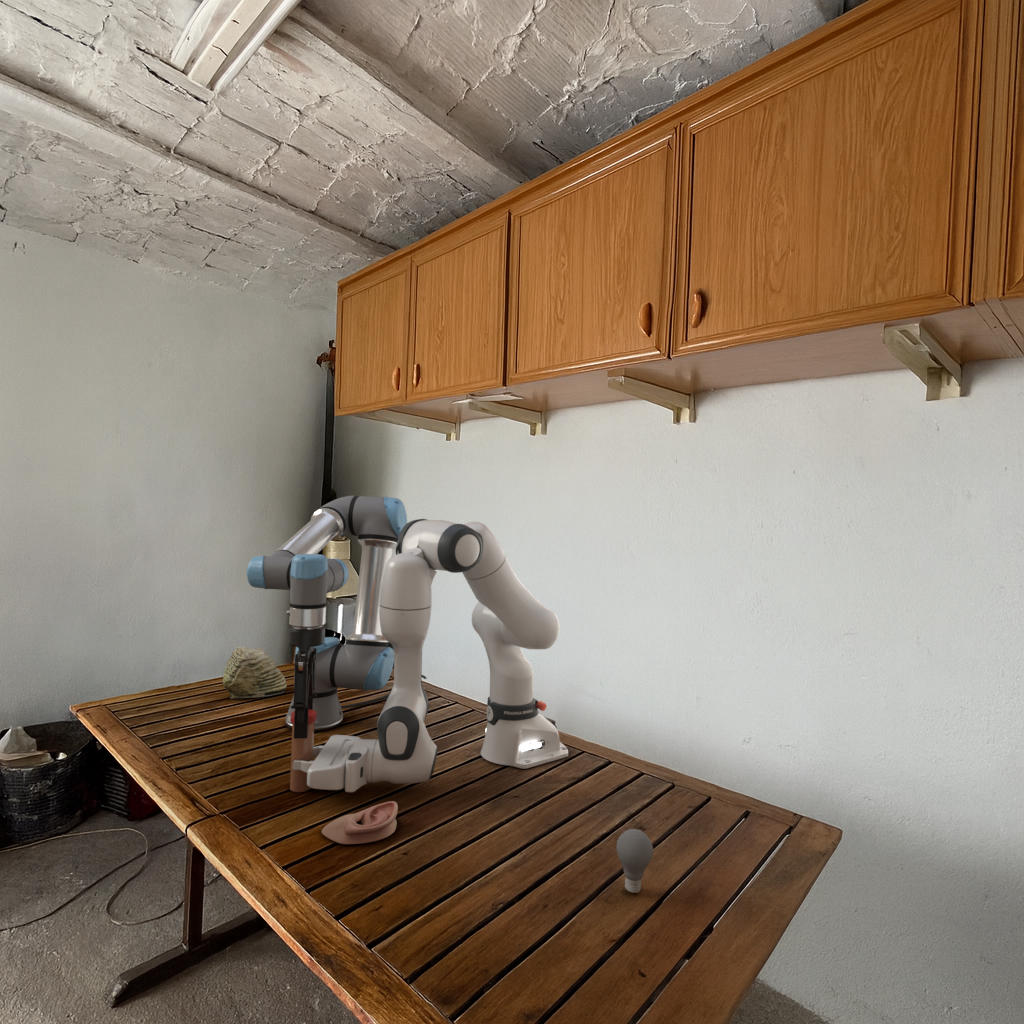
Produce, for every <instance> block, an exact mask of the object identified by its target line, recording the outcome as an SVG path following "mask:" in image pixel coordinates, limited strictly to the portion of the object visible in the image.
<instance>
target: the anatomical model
mask: <svg viewBox="0 0 1024 1024" xmlns="http://www.w3.org/2000/svg"><path fill="white" fill-rule="evenodd" d="M398 809H399V806H398V803H397V802H396V801H393V800H392V801H391V800H390V801H385V802H381V803H378V804H376V805H372V806H370V807H368V808H365V809H363V810H360V811H358V812H355V813H350V814H344V815H342V816H340V817H338V818H336V819H334V820H332V821H331V822H329V823H327V824H326V825H325V826H323V828H322V829H321V834H322V835H323V836H324V837H325V838H327V839H328V840H331V841H333V842H335V843H337V844H341V845H357V844H358V845H359V844H367V843H372V842H377V841H380V840H384V839H385V838H388V837H389V836H391V835H392V834H393V833H395V831H396V829H397V826H398V823H397V820H396V819H397V815H398V812H399V811H398Z"/></svg>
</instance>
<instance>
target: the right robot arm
mask: <svg viewBox="0 0 1024 1024" xmlns="http://www.w3.org/2000/svg"><path fill="white" fill-rule="evenodd" d="M394 551H395V555H392V557H391V558H390V559H389V560H388V561H387V563H386V566H385V570H384V574H383V579H382V585H381V592H380V605H379V618H380V626H381V632H382V635H383V637H384V638H385V639H386V640H387V641H388V642H389V643H390V644H391V646H392V649H393V651H394V663H393V684H392V687H391V689H390V690H389V693H388V694H389V695H388V694H387V695H388V697H387V698H386V700H385V703H384V706H383V707H382V710H381V712H380V714H379V715H378V718H377V723H376V728H377V729H376V730H377V731H376V732H377V739H373V738H361V737H360V736H355V735H348V734H347V735H345V734H334V735H331V736H330V737H329V739H328V740H327V741H326V743H325V744H324V745H317V746H314V749H313V758H314V759H313V761H309V762H307V761H303V759H296V760H295V761H294V762H293V769H294V770H301V771H304V772H306V773H307V786H309V787H311V789H315V790H326V791H339V790H343V789H344V792H345V793H354V792H356V791H357V790H358V789H360V788H361V787H363V786H365V785H367V784H376V783H381V782H387V783H390V784H394V785H396V784H397V785H398V784H399V785H405V784H406V785H407V784H410V785H411V784H420V783H424V782H427V781H429V779H431V778H432V776H433V774H434V770H435V767H436V761H437V757H438V752H439V751H438V746H437V744H435V743H434V741H433V739H432V737H431V736H430V735H429V732H428V730H427V727H426V724H425V720H426V717H427V716H428V713H429V709H430V705H429V704H430V702H429V698H428V694H427V693H426V691H425V688H424V685H423V681H422V680H423V679H422V675H423V674H422V672H423V670H422V669H423V667H422V666H423V647H424V644H425V641H426V639H427V637H428V632H429V627H430V623H431V616H432V604H433V603H432V602H433V601H432V599H433V598H432V597H433V596H432V595H433V593H432V590H433V589H432V584H433V581H434V579H435V576H436V575H437V572H438V571H443V572H444V571H445V572H449V573H452V574H453V573H454V574H457V573H462V574H463V576H464V578H465V581H466V582H467V584H468V587H470V590H471V592H472V593H473V595H474V597H475V599H476V600H477V601H478V602H477V603H476V604H475V606H474V607H473V610H472V612H471V624H472V628H473V630H474V631H475V632H476V633H477V635H478V636H479V637H480V639H481V641H482V644H483V646H484V649H485V652H486V656H487V660H488V665H489V696H488V697H487V704H486V721H487V723H486V728H485V735H484V740H483V742H482V746H481V749H480V751H479V752H480V756H481V757H482V758H483V759H484V760H486V761H488V762H490V763H493V764H495V765H496V764H497V765H501V766H508V767H509V766H510V767H515V768H518V769H522V770H526V769H530V768H534V767H537V766H541V765H544V764H547V763H551V762H554V761H557V760H561V759H564V758H567V757H569V749H568V747H566V745H565V744H563V742H561V740H560V734H559V730H558V726H557V725H556V720H555V719H551V718H548V717H547V716H544V715H542V714H541V713H539V710H540V712H543V711H546V709H547V707H548V706H547V704H546V702H543V701H542V700H540V701H539V700H538V699H536V698H534V685H535V683H534V682H535V680H534V679H535V670H534V667H533V665H532V664H531V662H530V661H529V660H528V659H527V658H526V656H525V654H524V652H523V649H527V650H547V649H550V648H552V646H553V645H555V643H556V641H557V640H558V638H559V635H560V629H561V625H560V620H559V617H558V615H557V614H556V612H554V611H553V610H551V609H549V607H546V606H545V605H544V604H543V603H541V602H540V601H539V600H538V599H537V597H536V596H534V595H533V594H532V592H530V590H528V589H527V587H526V586H525V585H524V584H523V583H522V582H521V580H520V579H519V578H518V575H516V573H515V571H514V569H513V567H512V566H511V563H510V561H509V559H508V557H507V555H506V553H505V551H504V549H503V548H502V546H501V544H500V542H499V541H498V539H497V538H496V536H495V535H494V533H493V532H492V531H491V530H490V529H489V527H487V525H486V524H485V523H482V522H480V521H469V522H466V523H456V522H453V521H449V520H443V519H427V518H418V519H414V520H410V521H407V524H406V525H405V526H404V527H403V528H402V530H401V532H400V534H399V537H398V541H397V547H396V548H395V549H394ZM389 643H388V644H389Z"/></svg>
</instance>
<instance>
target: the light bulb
mask: <svg viewBox="0 0 1024 1024" xmlns="http://www.w3.org/2000/svg"><path fill="white" fill-rule="evenodd" d="M615 849H616V854H617V857H618V859H619V861H620V863H621V865H622V867H623V873H624V874H623V875H624V876H625V878H624V888H625V890H627V891H628V892H630V893H634V894H635V893H639V892H640V891H641V889H642V887H641V886H642V879H643V877H644V875H645V871H646V868H647V867H648V866H649V864H650V863H651V861H652V859H653V855H654V847H653V843H652V841H651V838H649V836H648V835H647V834H646V833H645V832H643V831H642V830H641V829H636V828H629V829H627V830H625V831H623V832H622V833H621V834H620V835H619V837H618V839H617V841H616V847H615Z"/></svg>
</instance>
